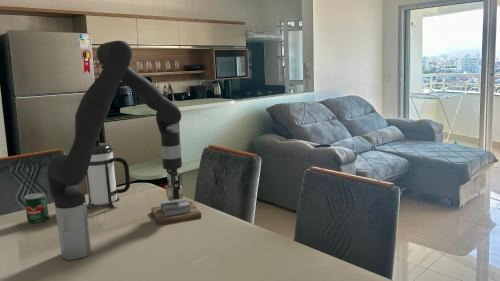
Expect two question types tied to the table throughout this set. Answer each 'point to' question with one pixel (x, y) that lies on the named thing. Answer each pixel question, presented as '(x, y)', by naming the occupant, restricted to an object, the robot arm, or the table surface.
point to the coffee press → (104, 176)
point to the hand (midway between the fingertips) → (174, 196)
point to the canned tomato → (36, 208)
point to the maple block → (170, 193)
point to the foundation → (175, 211)
